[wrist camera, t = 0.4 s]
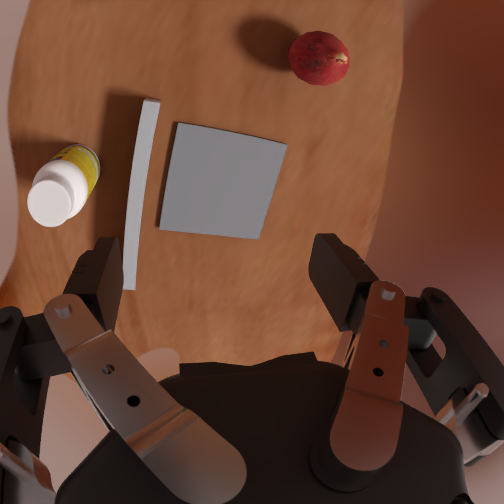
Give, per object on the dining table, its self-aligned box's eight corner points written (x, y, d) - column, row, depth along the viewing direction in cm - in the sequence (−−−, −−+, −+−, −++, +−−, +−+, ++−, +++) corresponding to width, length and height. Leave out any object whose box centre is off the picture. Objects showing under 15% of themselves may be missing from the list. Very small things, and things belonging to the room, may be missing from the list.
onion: (286, 89, 29) (321, 95, 23) (270, 40, 26) (303, 32, 20) (331, 77, 30) (374, 82, 23) (318, 30, 26) (360, 24, 20)
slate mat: (178, 122, 28) (178, 122, 28) (285, 143, 33) (287, 144, 32) (159, 227, 34) (159, 229, 34) (257, 237, 38) (258, 239, 38)
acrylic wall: (146, 98, 26) (143, 100, 23) (160, 100, 27) (160, 102, 23) (124, 268, 35) (122, 288, 32) (135, 269, 36) (135, 290, 33)
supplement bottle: (77, 132, 26) (46, 156, 18) (111, 168, 29) (93, 204, 21) (45, 169, 26) (9, 205, 18) (78, 201, 29) (54, 247, 22)
